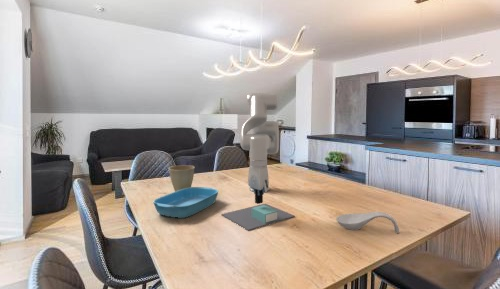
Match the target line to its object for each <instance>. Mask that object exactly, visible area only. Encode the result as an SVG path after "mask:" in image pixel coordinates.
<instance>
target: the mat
mask: <svg viewBox="0 0 500 289" xmlns="http://www.w3.org/2000/svg"><path fill="white" fill-rule="evenodd" d="M262 205H265V206H267V207H270V208H272V209H274V210H277V211H278V220H275V221H271V222H268V223H263V222H261V221H259V220H257V219H256V218H254V217H252V208H254V207H258V206H262ZM221 216H222V217H224V218H225V219H226V220H229V221H230V220H231V221H230V222H232V223H234V224H235V223H236V224H235V225H237V224H238V225H237V226H239V227H240V226H241V228H242V227H243V228H242V229H244V228H245V229H244V230H246V231H247V230H248V232H250V231H253V230H257V229H260V228H263V227H266V225H267V226H270V225H273V224H276V223H280V222H283V221H286V220H290V219H293V218H296V216H295V215H294V214H292V213H289V212H287V211H284V210H282V209H280V208H277V207H275V206H273V205H270V204H268V203H260V204H257V205H253V206H249V207H245V208H240V209H237V210H232V211H228V212H225V213H222V214H221ZM269 224H270V225H269ZM262 226H263V227H262ZM259 227H260V228H259ZM256 228H257V229H256ZM252 229H253V230H252ZM249 230H250V231H249Z"/></svg>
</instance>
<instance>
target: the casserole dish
mask: <svg viewBox="0 0 500 289" xmlns="http://www.w3.org/2000/svg"><path fill="white" fill-rule="evenodd" d="M218 194H219V190H218V189H216V188H213V187H210V186H209V187H208V186H191V187H189V188H184V189H181V190H178V191H176V192H175V191H173V192H171V193H168V194H165V195H162V196H160V197H157V198H156V199H154V200H153V201H152V202H153V204H154V207H155V208H154V209H155V210H156V212H157V213H158V214H159V215H161V216H164V215H166V216H165V217H169V216H171V217H170V218H175V217H178V218H177V219H186V218H188V216H189V217H190V216H191V217H192V216H193V215H195V214H197V213H199V212H200V211H203V210H204V209H207V208H208V207H210V206H212V205H213V204H214V203H216V200H217V198H218V197H217V196H218ZM185 217H186V218H185Z"/></svg>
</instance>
